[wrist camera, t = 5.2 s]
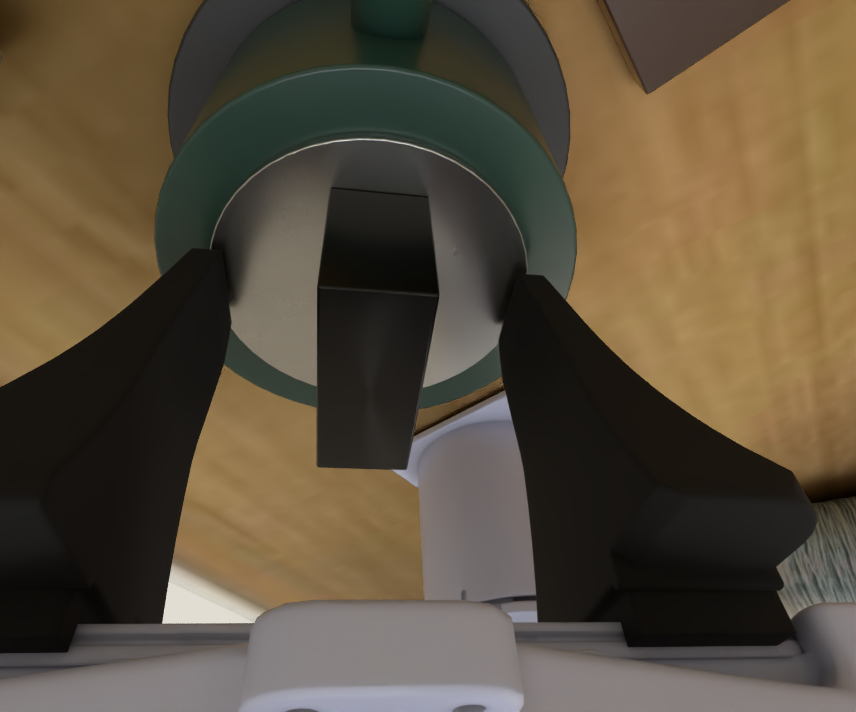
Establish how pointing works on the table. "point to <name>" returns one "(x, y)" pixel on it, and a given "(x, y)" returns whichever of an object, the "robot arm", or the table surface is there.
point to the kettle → (368, 214)
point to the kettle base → (476, 3)
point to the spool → (823, 560)
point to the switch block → (676, 32)
